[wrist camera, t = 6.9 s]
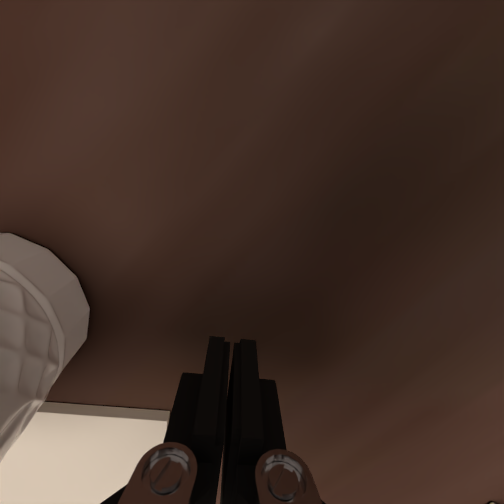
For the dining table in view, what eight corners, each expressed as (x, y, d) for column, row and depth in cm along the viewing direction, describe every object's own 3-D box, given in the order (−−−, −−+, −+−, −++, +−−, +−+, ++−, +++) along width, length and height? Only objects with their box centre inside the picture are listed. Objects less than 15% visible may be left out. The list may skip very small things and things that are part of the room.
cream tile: (170, 410, 15) (167, 421, 14) (161, 542, 17) (158, 556, 17) (-45, 395, 14) (-58, 405, 13) (-16, 535, 17) (-25, 549, 16)
